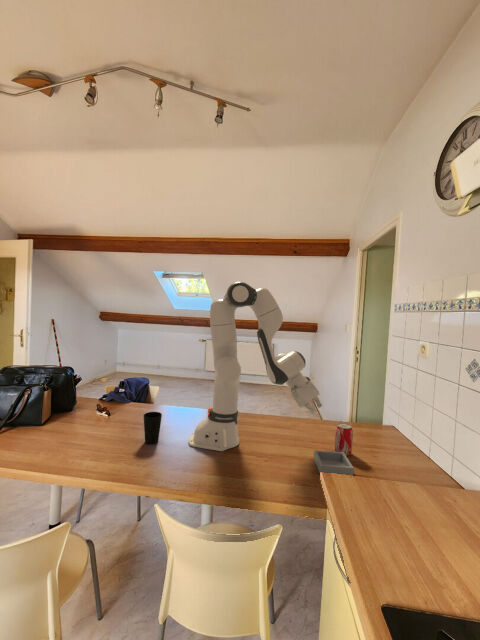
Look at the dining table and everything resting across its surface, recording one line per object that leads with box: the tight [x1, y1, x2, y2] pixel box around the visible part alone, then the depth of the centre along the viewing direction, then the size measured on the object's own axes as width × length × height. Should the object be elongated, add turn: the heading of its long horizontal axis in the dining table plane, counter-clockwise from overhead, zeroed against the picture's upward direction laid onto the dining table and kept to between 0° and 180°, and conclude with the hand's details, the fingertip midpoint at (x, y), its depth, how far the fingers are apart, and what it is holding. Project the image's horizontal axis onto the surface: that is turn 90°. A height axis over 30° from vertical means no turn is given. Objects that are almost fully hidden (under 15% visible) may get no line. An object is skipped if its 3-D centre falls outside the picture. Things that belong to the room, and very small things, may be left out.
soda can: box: [334, 422, 354, 457], centre depth 126 cm, size 7×7×12 cm
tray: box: [313, 449, 355, 476], centre depth 113 cm, size 12×12×4 cm
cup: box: [143, 411, 163, 446], centre depth 128 cm, size 8×8×12 cm
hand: (317, 409), depth 132 cm, fingers open, 8 cm apart
